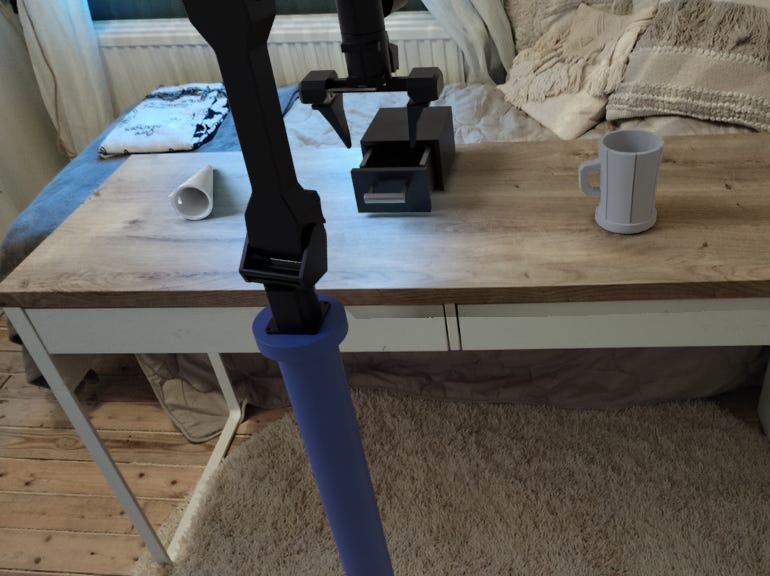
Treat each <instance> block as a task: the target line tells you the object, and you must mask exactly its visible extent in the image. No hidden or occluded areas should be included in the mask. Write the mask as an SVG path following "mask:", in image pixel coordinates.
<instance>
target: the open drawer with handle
mask: <svg viewBox="0 0 770 576" xmlns="http://www.w3.org/2000/svg"><path fill="white" fill-rule="evenodd" d="M434 145H435V144H434ZM434 145H415V146H414V148H411V145H382V146H370V147H369V149H368V151H367V153H366V154H365V156H364V158H363V157H362V159H361V162H360V163H359V165H358V167H352V168H351V169H350V172H349V173H350V177H351V178H350V179H351V183H352V189H353V193H354V198H355V204H356V210H357V214H373V213H374V214H393V213H394V214H395V213H396V214H397V213H398V214H399V213H401V214H402V213H403V214H405V213H407V214H409V213H414V214H415V213H418V214H419V213H420V214H421V213H432V210H433V204H432V195H433V192H434V191H433V189H434V187H435V184H436V181H437V178H438V174H437V165H436V155H435V146H434Z"/></svg>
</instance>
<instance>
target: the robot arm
mask: <svg viewBox="0 0 770 576" xmlns="http://www.w3.org/2000/svg"><path fill="white" fill-rule="evenodd" d="M180 1H181V3H182V6H183V9H184V11H185V14H186V16H187V19H188V21H189V23H190V25H192V26H193V28H194V29H195V30H196V31H197V32H198V33H199V35H200V36H201V37H202V38H203V39H204V41H205V42H206V43H207V44H208V45H209V46H210V48H211V49H212V50H213V52H214V55H215V57H216V61H217V64H218V69H219V73H220V75H221V76H220V77H221V79H222V84H223V86H224V91H225V94H226V98H227V102H228V105H229V109H230V114H231V116H232V120H233V125H234V128H235V132H236V135H237V139H238V140H237V141H238V143H239V147H240V150H241V155H242V159H243V162H244V165H245V170H246V173H247V177H248V181H249V185H250V188H251V194H250V196H249V199H248V202H247V205H246V208H245V209H244V214H243V217H244V223H245V230H246V232H245V233H246V234H245V237H244V238H245V239H244V242H243V247H242V253H241V257H240V260H239V265H238V266H239V267H238V274H239V275H240V276H241V278H242V279H243V281H244V282H245V283H249V284H251V283H254V284H261V285H263V289H264V293H265V295H266V299H267V303H268V305H269V306H270V309H271V312H272V315H273V316H272V318H271V319H270V321H269V323H268V325H267V326H266V328H265V332H266V334H276V335H316V334H317V333H318V332H319V330H320V328H321V325H322V323H323V321H324V319H325V317H326V315H327V313H328V310H329V308H330V306H331V304H330V301H319V299H318V295H317V293H318V292H317V287H316V284H318V282H319V281H320V280H321V279H323V277H324V276H325V274H326V273H327V272H328V271H329V269H328V268H329V267H328V266H329V265H328V264H329V263H328V233H327V230H326V227H325V224H326V223H327V220H326V218H325V216H324V213H323V209H322V200H321V196H320V194H319V193H318V191H317V190H315V189H309V188H308V189H307V188H304V187H303V186H302V185H301V183H299V180H298V177H297V172H296V168H295V163H294V160H293V154H292V149H291V145H290V141H289V137H288V136H289V135H288V132H287V127H286V124H285V119H284V114H283V110H282V105H281V101H280V96H279V93H278V88H277V83H276V79H275V74H274V70H273V66H272V60H271V57H270V53H269V47H268V41H269V37H270V35H271V31H272V29H273V26H274V22H275V20H276V16H277V4H276V3H277V2H276V0H180ZM334 2H335V8H336V13H337V20H338V25H339V30H340V38H341V43H340V44H339V45H340V52H341V54H344V60H345V65H346V72H347V76H346V77H339V75H338V72H337V71H336V69H323V70H322V69H315V70H310V71H309V72H308V73H307V74H306V75H305V76H304V78H303V79H301V81H300V82H299V84H298V90H297V91H298V96H299V100H300V101H299V102H300V104H302V105H311V106H310V107H311V110H313V111H318V112H319V113H320V115H322V116H323V118H324V119H325V120H326V121H327V122H328V124H329V125H330V126H331V127H332V129H333V130H334V132H335V133H336V134H337V136H338V137H339V139H340V140H341V141H342V143H343V145H344V146H345V147H346V149H347V150H351V149H352V147H353V143H352V136H351V131H350V128H349V123H348V120H347V116H346V112H345V111H346V110H345V108H344V94H365V93H366V94H367V93H370V94H371V93H405V92H406V95H407V97H408V98H409V99H408V101H407V103H406V107H407V118H408V131H409V141H410V145H411V148H414V146H415V143H416V138H417V133H418V127H419V122H420V118H421V114H422V111H423V108H426V107H429V106H431V104H432V102H435V101H438V100H439V99H440V97H441V94H442V92H443V90H444V88H445V81H444V74H443V71H442V69H440V68H439V67H438V66H421V67H412V69H411V70H410V72H409V73H408V75H402V76H401V75H400V76H398V75H397V76H393V75H392V74H395V73H396V72H397V71H399V70H400V59H399V45H398V44H395V43H392V42H390V38H389V33H388V30H386V23H385V19H386V18H387V17H389V16H390V15H392V14H393V13H395V12H397V11H398V10H400V9H401V8H403V7H405V6H406V5H407V4H408V2H409V0H334Z"/></svg>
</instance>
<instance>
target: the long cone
mask: <svg viewBox="0 0 770 576" xmlns="http://www.w3.org/2000/svg"><path fill="white" fill-rule="evenodd" d="M168 199H169V202H170V204H171V206H172V209H173V211H174V213H175V215H176V217H182V218H185V219H187V220H192V221H198V220H203V219H205V218H207V217H208V216H209V215H210V214H211V212H212V210H213V207H214V168H213V165H211V164H207V165H205V166H203V167H201V169H199V170H198V171H197V172H196V173H194V174H193V175H192V176H191V177H189V178H188V179H187V180H185V182H183V183H182V184H180V185H179V186H178V187H177V188H175V190H174V191H173V192H171V193H170V194H169V195H168Z"/></svg>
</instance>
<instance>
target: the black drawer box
mask: <svg viewBox="0 0 770 576" xmlns="http://www.w3.org/2000/svg"><path fill="white" fill-rule="evenodd" d="M434 144H435V145H434ZM359 145H360V150H361V151H360V152H361V157H362V159H363V158H364V156H365V154H366V153H367V151H368V149H369V147H370V146H382V145H410V141H409V131H408V118H407V106H396V107H391V106H390V107H379V109H378V110H377V112H376V113H375V115H374V117H373V118H372V120H371V122H370V123H369V125H368V127H367V129H366V130H365V132H364V133H363V135H362V137H361V139H360V141H359ZM415 145H434V146H435V155H436V165H437V174H438V178H437V181H436V184H435V187H434V189H433V192H444V191H445V189H446V186H447V182H448V180H449V176H450V174H451V171H452V167H453V164H454V161H455V157H456V154H457V151H456V141H455V129H454V115H453V107H452V105H437V106H436V105H434V106H433V105H432V106H431V105H430V106H429V107H426V108H423V111H422V114H421V118H420V122H419V127H418V133H417V138H416V143H415Z"/></svg>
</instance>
